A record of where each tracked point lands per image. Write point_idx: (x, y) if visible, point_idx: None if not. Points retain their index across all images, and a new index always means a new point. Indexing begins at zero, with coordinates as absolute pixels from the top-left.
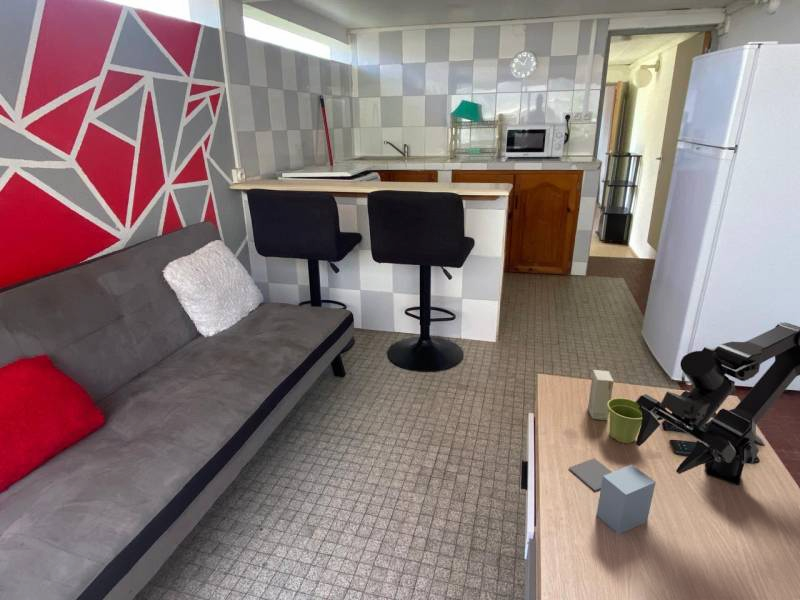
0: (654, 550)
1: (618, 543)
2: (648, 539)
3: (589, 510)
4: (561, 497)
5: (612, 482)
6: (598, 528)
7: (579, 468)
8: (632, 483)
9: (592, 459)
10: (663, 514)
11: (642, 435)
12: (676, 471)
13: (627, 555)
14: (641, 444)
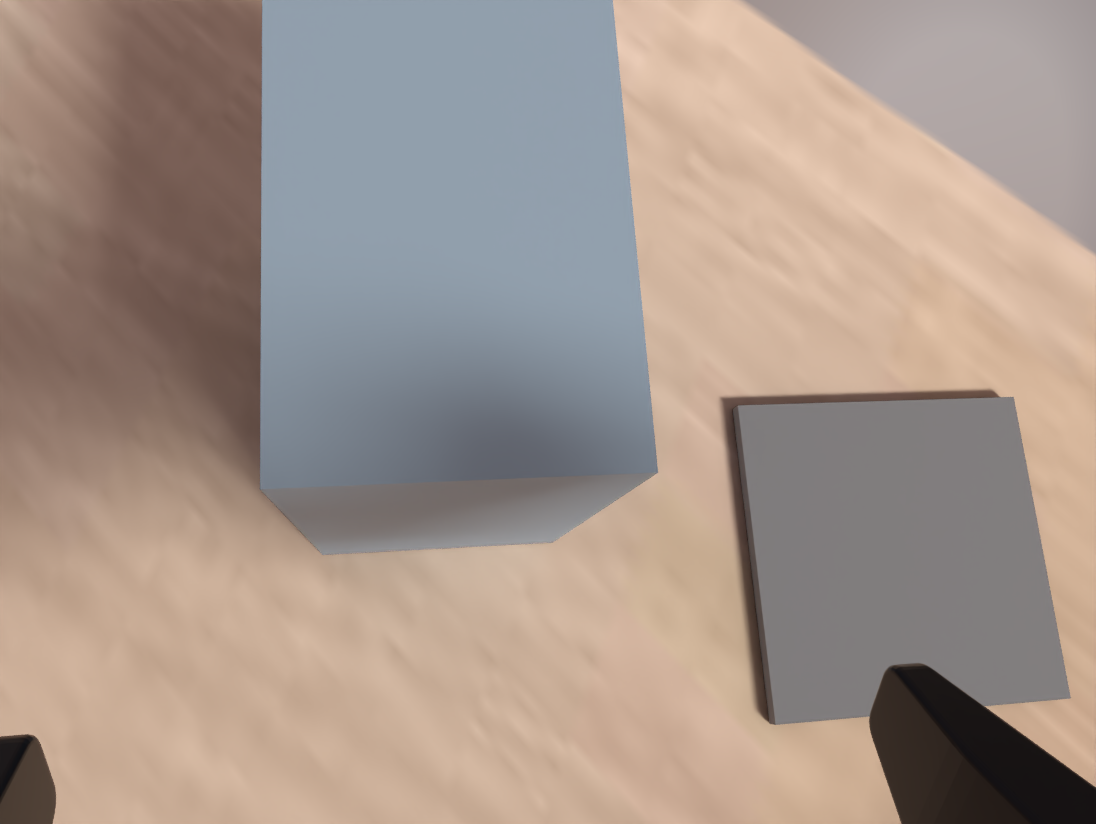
0: (89, 373)
1: None
2: (185, 416)
3: None
4: (758, 145)
5: (485, 6)
6: None
7: (983, 470)
8: (371, 188)
9: (1057, 666)
10: (320, 760)
11: (1026, 815)
12: (25, 738)
13: (154, 166)
14: (890, 788)
